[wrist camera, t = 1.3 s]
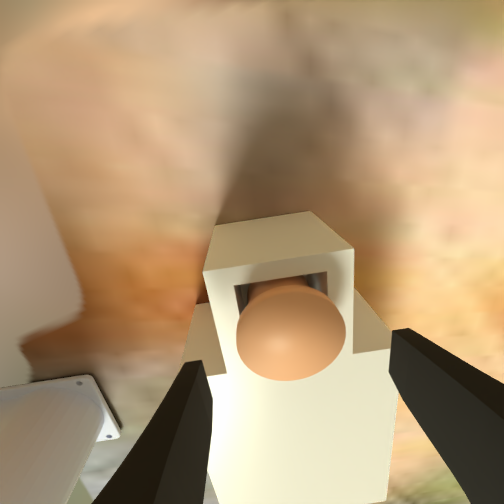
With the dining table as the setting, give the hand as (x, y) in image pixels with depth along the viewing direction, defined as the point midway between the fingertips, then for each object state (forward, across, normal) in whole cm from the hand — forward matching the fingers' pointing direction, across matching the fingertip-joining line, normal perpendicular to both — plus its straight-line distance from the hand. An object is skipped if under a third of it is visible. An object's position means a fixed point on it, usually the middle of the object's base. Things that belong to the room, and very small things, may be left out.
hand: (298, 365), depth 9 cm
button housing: (+10, 0, +7) cm, 12 cm away
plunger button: (+5, 0, 0) cm, 5 cm away
